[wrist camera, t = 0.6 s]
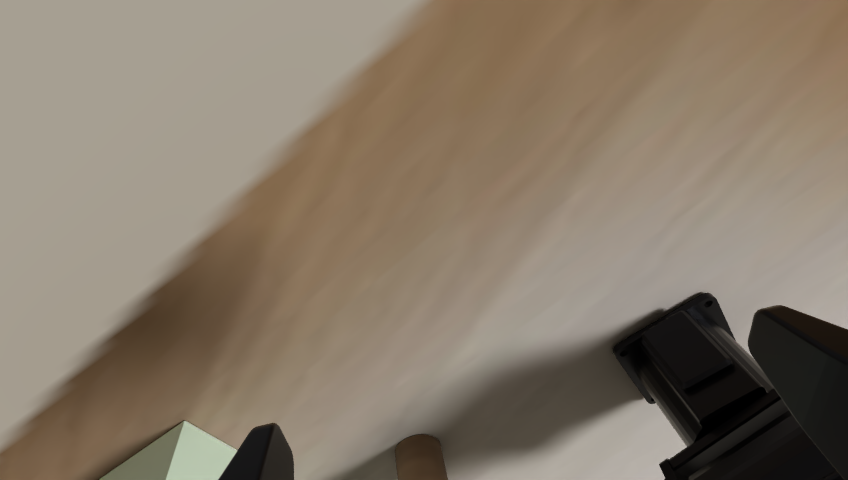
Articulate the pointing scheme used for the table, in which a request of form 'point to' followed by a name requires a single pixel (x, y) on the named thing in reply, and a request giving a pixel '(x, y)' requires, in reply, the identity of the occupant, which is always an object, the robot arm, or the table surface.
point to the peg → (420, 459)
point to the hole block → (177, 457)
